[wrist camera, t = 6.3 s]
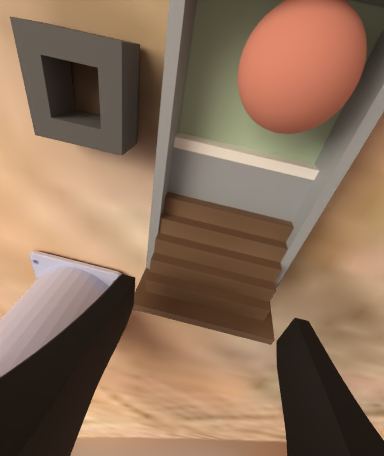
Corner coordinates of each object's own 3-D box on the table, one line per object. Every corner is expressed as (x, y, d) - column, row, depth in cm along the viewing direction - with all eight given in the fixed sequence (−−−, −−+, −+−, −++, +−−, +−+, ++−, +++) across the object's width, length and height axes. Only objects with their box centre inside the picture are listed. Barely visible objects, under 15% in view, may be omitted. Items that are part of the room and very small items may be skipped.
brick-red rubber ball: (431, -29, 6) (370, 142, 8) (330, 27, 10) (303, 134, 11) (279, -55, 5) (249, 133, 7) (233, 14, 9) (220, 127, 11)
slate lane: (265, 270, 17) (273, 328, 13) (157, 243, 17) (134, 293, 13) (416, -13, 8) (555, -70, 5) (192, -60, 8) (157, -150, 5)
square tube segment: (136, 143, 13) (121, 155, 11) (60, 125, 13) (35, 134, 12) (139, 44, 10) (121, 41, 9) (44, 22, 11) (9, 16, 9)
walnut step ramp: (263, 274, 17) (270, 344, 13) (156, 248, 17) (130, 308, 13) (296, 212, 14) (321, 278, 10) (164, 180, 14) (132, 232, 10)
